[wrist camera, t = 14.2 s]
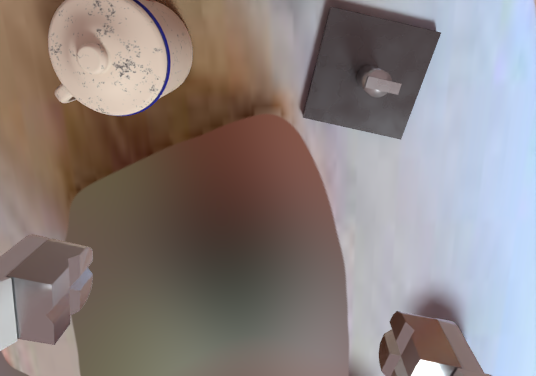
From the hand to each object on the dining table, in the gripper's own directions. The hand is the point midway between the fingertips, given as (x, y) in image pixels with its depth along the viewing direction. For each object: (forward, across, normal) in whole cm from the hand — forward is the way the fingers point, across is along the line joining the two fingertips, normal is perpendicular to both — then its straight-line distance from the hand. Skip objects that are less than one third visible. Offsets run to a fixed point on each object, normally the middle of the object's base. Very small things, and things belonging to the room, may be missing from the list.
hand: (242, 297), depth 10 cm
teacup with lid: (+29, +14, -1) cm, 33 cm away
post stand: (+29, -8, -4) cm, 30 cm away
